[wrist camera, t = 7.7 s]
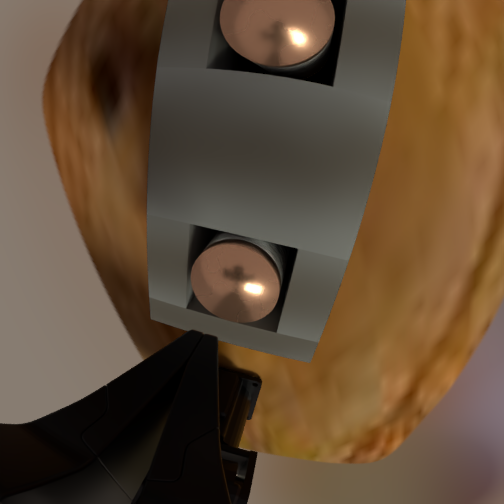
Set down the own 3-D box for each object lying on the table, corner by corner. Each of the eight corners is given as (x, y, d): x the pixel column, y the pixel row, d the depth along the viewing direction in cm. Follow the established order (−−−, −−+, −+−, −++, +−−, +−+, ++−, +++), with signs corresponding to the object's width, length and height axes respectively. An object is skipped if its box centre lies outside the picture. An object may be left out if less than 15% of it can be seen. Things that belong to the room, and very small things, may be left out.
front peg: (323, 86, 13) (325, 75, 8) (249, 74, 13) (212, 59, 8) (334, 21, 11) (340, -22, 6) (260, 10, 11) (229, -32, 7)
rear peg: (285, 267, 18) (269, 331, 13) (225, 253, 18) (189, 309, 13) (299, 208, 16) (287, 258, 11) (232, 194, 16) (193, 235, 11)
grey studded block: (316, 292, 19) (309, 362, 14) (193, 262, 20) (150, 319, 15) (380, 9, 11) (408, -36, 5) (228, -13, 12) (182, -58, 6)
